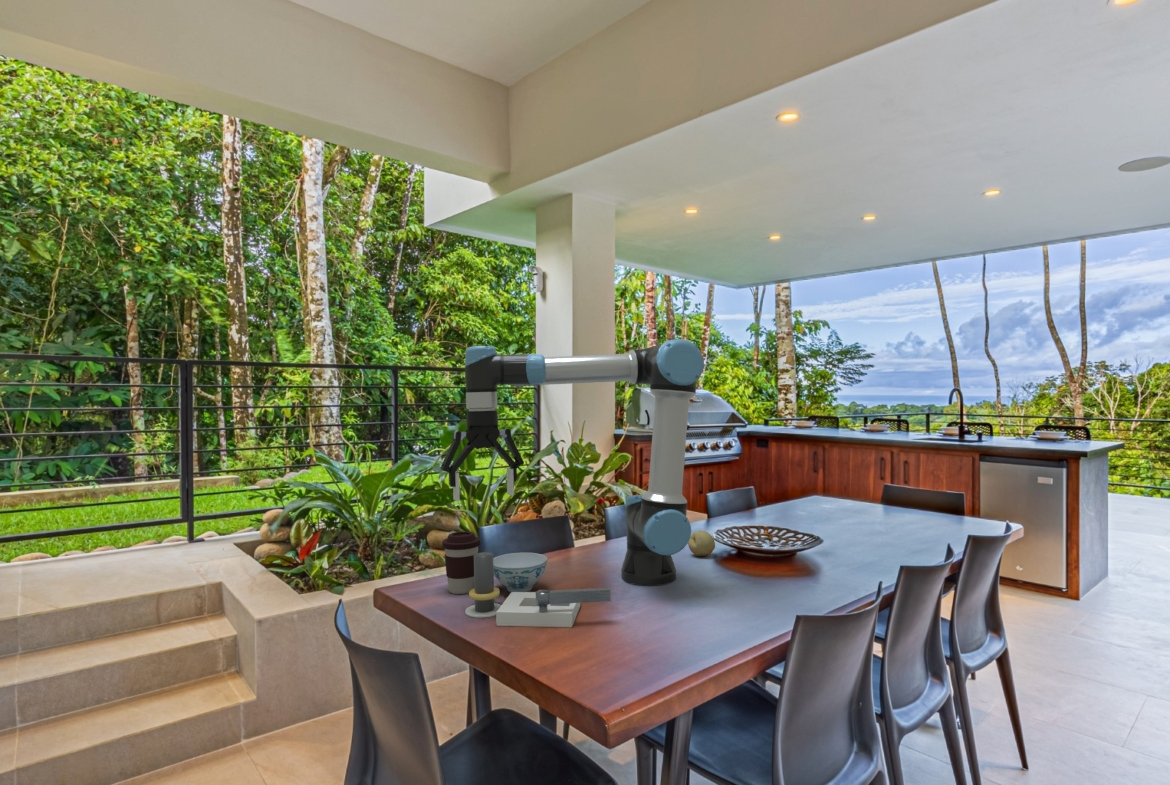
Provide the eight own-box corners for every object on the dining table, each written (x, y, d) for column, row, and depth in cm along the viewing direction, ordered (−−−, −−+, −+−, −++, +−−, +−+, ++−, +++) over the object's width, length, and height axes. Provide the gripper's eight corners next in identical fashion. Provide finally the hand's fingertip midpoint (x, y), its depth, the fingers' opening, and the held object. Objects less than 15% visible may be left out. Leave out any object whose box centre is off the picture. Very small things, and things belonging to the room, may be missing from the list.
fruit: (688, 553, 191) (687, 528, 191) (714, 553, 190) (713, 528, 190) (688, 559, 184) (688, 533, 184) (716, 559, 182) (715, 533, 182)
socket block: (580, 605, 145) (580, 587, 145) (571, 627, 131) (571, 607, 131) (512, 604, 147) (511, 586, 147) (496, 625, 133) (496, 605, 133)
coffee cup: (473, 597, 153) (471, 538, 154) (437, 595, 155) (435, 537, 156) (487, 585, 163) (485, 530, 163) (453, 584, 165) (451, 529, 165)
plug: (503, 604, 146) (502, 550, 146) (495, 614, 139) (493, 558, 139) (474, 603, 147) (473, 550, 147) (465, 614, 140) (464, 558, 140)
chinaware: (480, 595, 155) (479, 565, 155) (507, 578, 169) (506, 551, 169) (533, 600, 150) (532, 569, 150) (556, 582, 164) (555, 554, 164)
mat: (507, 604, 147) (507, 603, 147) (497, 618, 138) (497, 616, 138) (472, 604, 148) (472, 602, 148) (460, 617, 139) (459, 615, 139)
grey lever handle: (535, 606, 131) (535, 594, 131) (536, 601, 135) (535, 590, 135) (611, 602, 132) (610, 591, 133) (609, 597, 136) (609, 586, 136)
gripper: (524, 408, 155) (526, 490, 154) (426, 411, 143) (428, 500, 143) (535, 408, 148) (537, 494, 148) (434, 411, 136) (436, 505, 136)
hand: (484, 497), depth 145 cm, fingers open, 13 cm apart
